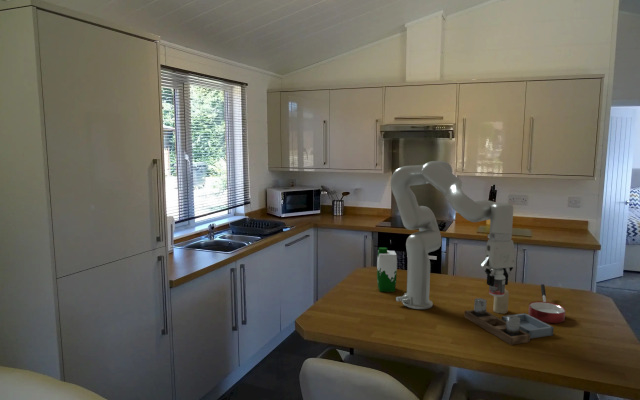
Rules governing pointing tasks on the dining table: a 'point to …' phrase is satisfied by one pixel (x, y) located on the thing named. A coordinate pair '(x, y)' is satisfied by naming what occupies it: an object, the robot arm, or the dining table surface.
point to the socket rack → (497, 327)
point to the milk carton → (386, 270)
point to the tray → (533, 326)
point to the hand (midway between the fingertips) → (497, 284)
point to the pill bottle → (498, 284)
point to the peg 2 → (512, 325)
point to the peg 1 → (480, 307)
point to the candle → (501, 303)
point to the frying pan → (546, 310)
